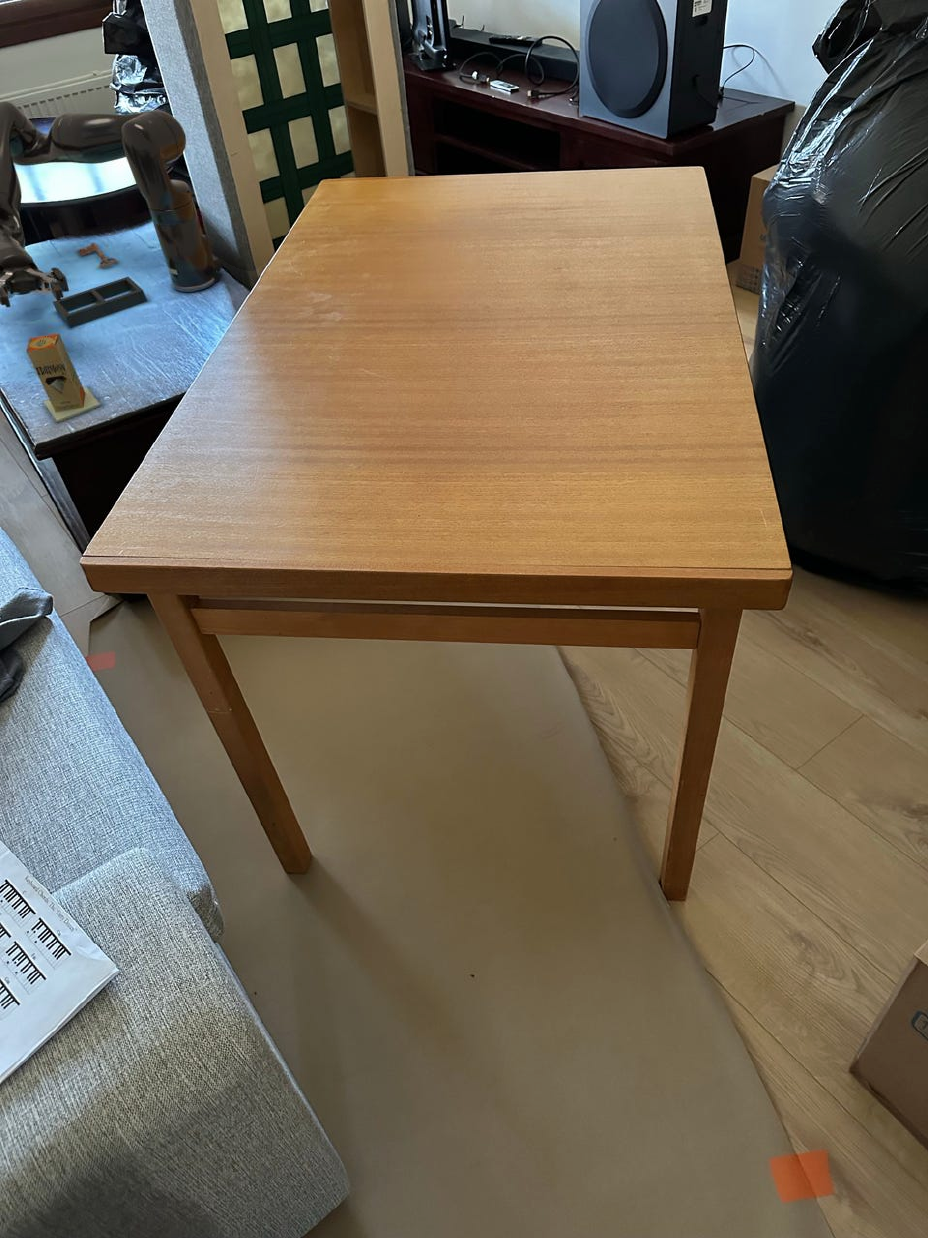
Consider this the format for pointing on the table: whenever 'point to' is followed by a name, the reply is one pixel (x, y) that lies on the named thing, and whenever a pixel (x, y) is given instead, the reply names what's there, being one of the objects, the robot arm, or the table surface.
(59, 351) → the shoe polish box
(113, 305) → the holder
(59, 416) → the mat
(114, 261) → the key
